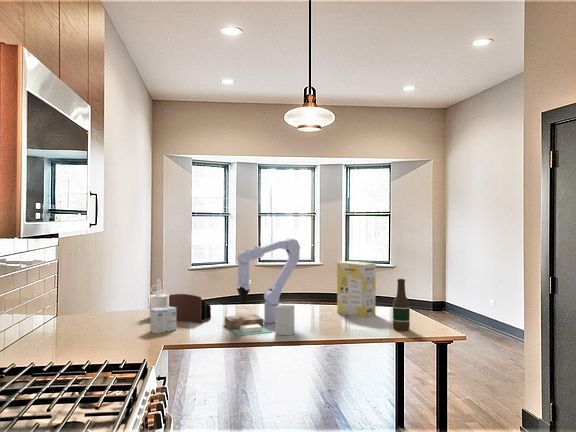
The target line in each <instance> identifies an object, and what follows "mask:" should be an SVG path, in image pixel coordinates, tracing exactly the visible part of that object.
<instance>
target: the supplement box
mask: <svg viewBox="0 0 576 432" xmlns="http://www.w3.org/2000/svg"><path fill="white" fill-rule="evenodd" d="M295 327H296V326H295V305H293V304H292V305H291V304H290V305H289V304H282V305H279V306H277V307H275V323H274V329H275V330H274V333H275V335H276V336H277V335H278V336H291V335H293V334H294V333H295V332H296V331H295V329H296V328H295Z"/></svg>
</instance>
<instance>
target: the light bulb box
mask: <svg viewBox="0 0 576 432" xmlns="http://www.w3.org/2000/svg"><path fill="white" fill-rule="evenodd" d="M149 311H150V312H149V313H150V315H149V319H150V332H151V331H153V332H152V333H154V332H156V333H155V334H160V333H159V332H162V333H166V332H165V331H168V332H171V331H172V330H173V331H177V325H178V324H177V323H178V322H177V321H176V307H171V306H168V305H167V307H160V308H154V309H151V308H150V310H149Z"/></svg>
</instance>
